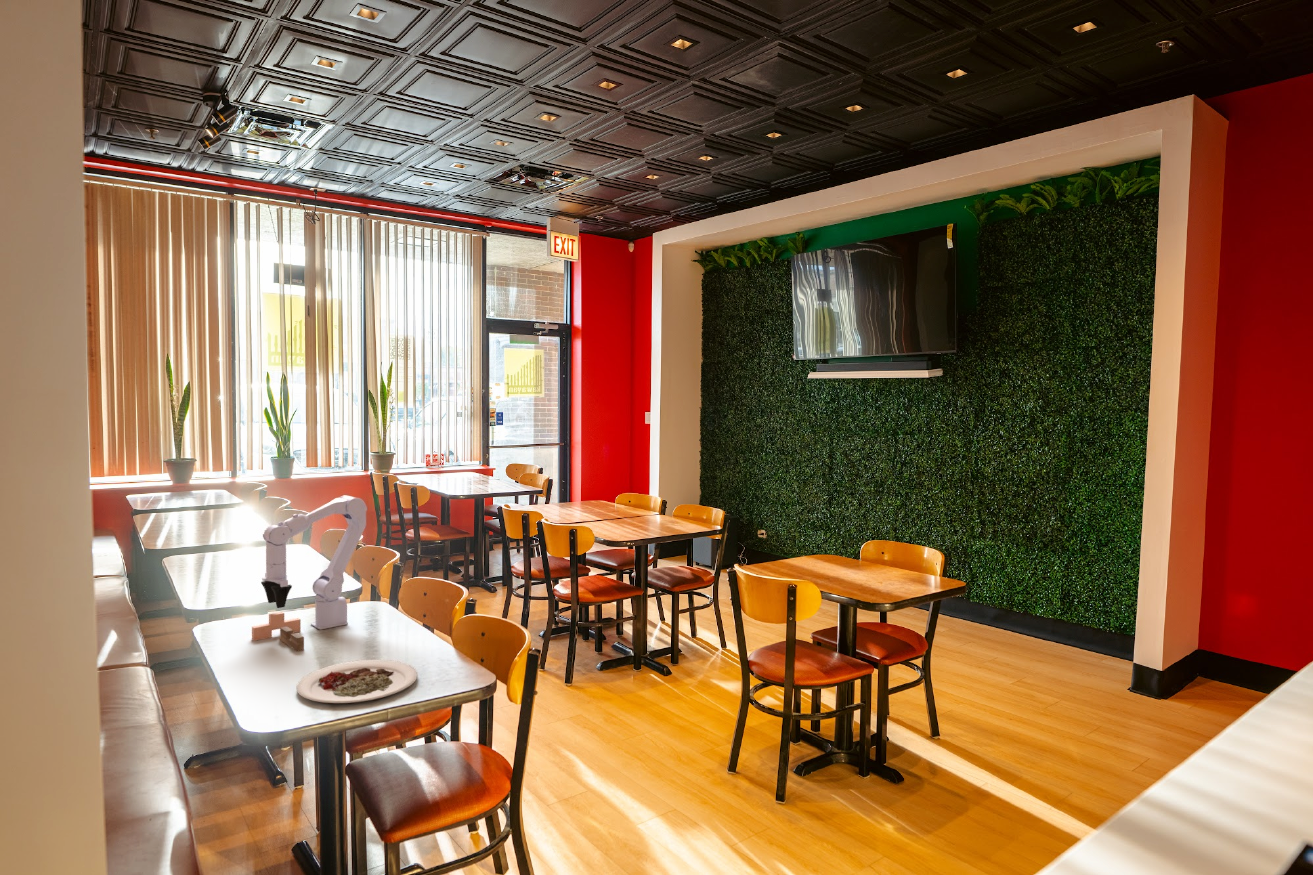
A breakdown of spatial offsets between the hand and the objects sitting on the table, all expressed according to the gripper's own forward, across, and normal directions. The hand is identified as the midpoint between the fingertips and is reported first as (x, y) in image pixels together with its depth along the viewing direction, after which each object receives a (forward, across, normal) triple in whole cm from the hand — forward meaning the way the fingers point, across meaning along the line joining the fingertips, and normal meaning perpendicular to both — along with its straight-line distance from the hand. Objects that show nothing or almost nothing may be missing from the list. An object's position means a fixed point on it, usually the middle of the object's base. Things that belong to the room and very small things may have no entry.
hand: (276, 604), depth 237 cm
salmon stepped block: (+10, 0, 0) cm, 10 cm away
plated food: (+10, +58, +1) cm, 59 cm away
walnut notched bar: (+10, +13, 0) cm, 16 cm away
